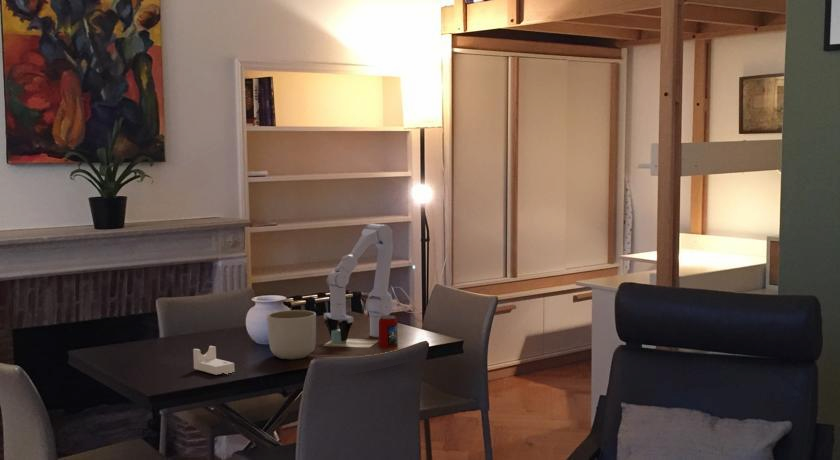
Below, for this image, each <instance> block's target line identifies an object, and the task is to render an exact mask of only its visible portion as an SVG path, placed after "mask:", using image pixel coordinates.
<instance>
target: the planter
mask: <svg viewBox="0 0 840 460" xmlns="http://www.w3.org/2000/svg"><path fill="white" fill-rule="evenodd" d="M266 315H267V317H266V318H267V319H266V321H267V333H268V334H267V335H268V345H269V349H270V351H271V353H272V354H273V355H274V356H275V357H276V358H278V359H283V360H299V359H304V358H306V357H308V356H310V354H312V353H313V351H314V350H315V348H316V341H317V340H316V339H317V313H316V312H315V311H312V310H304V309H292V310H279V311H274V312H270V313H268V314H266Z"/></svg>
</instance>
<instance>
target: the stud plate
mask: <svg viewBox="0 0 840 460" xmlns="http://www.w3.org/2000/svg"><path fill="white" fill-rule="evenodd" d="M377 343H379V339H364V338H347V342H346V343H343V344H334V343H331V340H329V341H328V342H326V343H325V344H323V345H322V347H341V348H365V349H366V348H371V347H373V346H374V345H375V344H377Z"/></svg>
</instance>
